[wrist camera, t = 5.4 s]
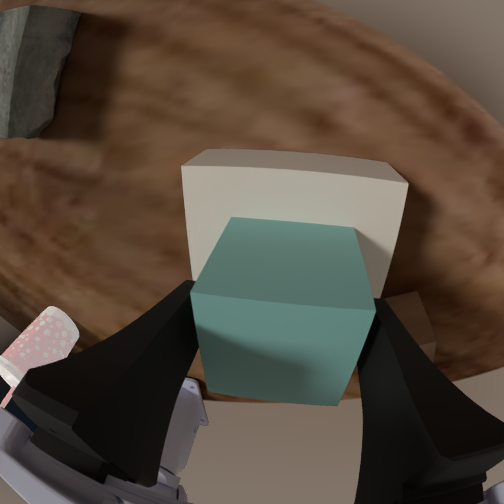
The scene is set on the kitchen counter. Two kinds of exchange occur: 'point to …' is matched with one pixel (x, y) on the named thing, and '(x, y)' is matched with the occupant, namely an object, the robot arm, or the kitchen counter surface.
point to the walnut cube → (414, 320)
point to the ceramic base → (294, 199)
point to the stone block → (32, 66)
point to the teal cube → (282, 311)
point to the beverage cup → (38, 346)
